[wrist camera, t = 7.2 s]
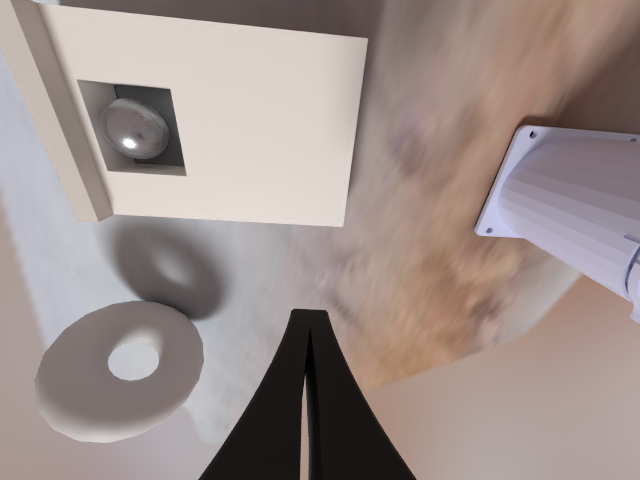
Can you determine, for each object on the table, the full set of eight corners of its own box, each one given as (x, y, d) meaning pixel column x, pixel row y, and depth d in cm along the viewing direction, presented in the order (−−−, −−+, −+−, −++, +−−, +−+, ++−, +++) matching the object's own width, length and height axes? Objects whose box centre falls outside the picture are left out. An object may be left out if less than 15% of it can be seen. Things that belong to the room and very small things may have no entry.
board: (358, 50, 14) (373, 31, 10) (339, 213, 18) (345, 234, 15) (60, 19, 13) (-27, -13, 9) (121, 200, 17) (77, 220, 14)
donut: (108, 298, 22) (-32, 426, 13) (120, 274, 20) (-25, 397, 12) (210, 342, 25) (154, 469, 16) (226, 323, 24) (175, 449, 15)
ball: (150, 99, 15) (172, 102, 13) (162, 152, 17) (182, 161, 15) (82, 93, 13) (98, 95, 11) (103, 155, 14) (119, 166, 13)
